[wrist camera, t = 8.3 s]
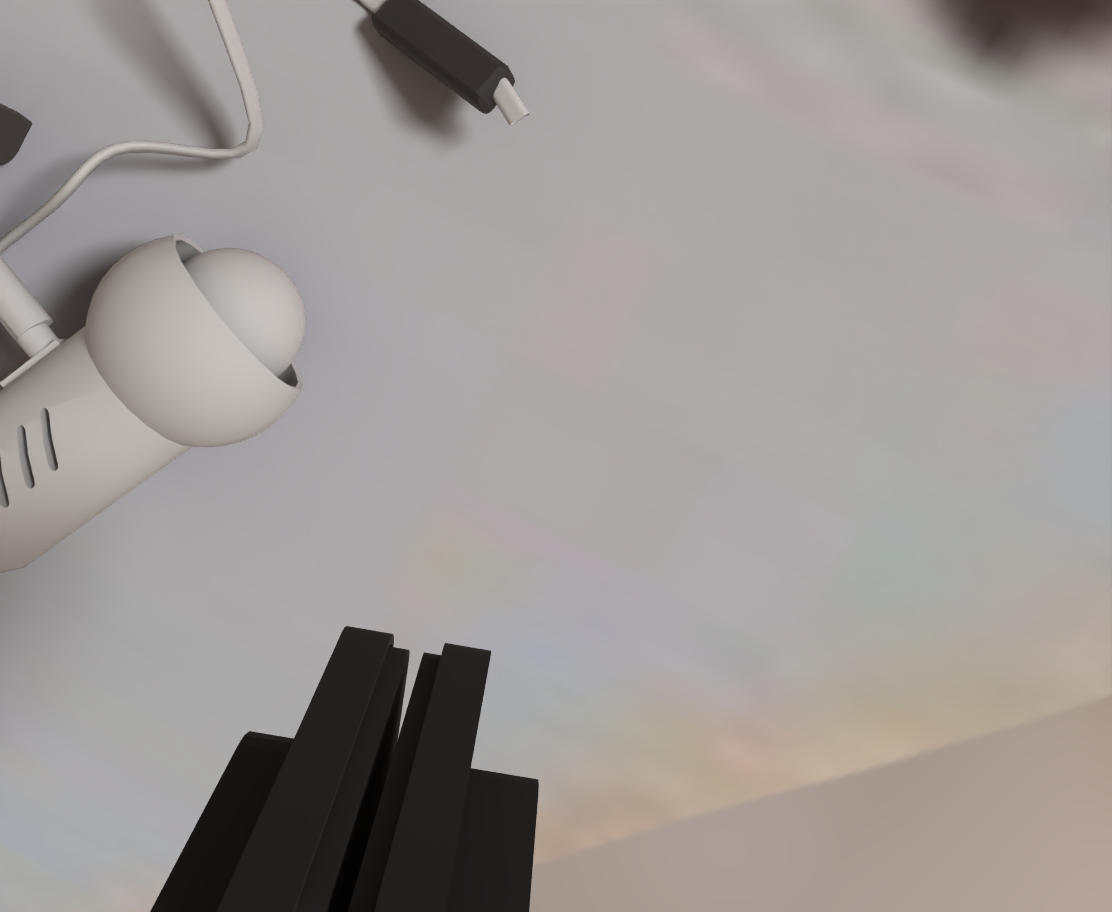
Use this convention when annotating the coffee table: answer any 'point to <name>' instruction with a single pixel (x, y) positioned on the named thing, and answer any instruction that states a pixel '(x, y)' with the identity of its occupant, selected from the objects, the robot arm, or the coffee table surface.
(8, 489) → the clip-on lamp
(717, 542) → the coffee table surface
